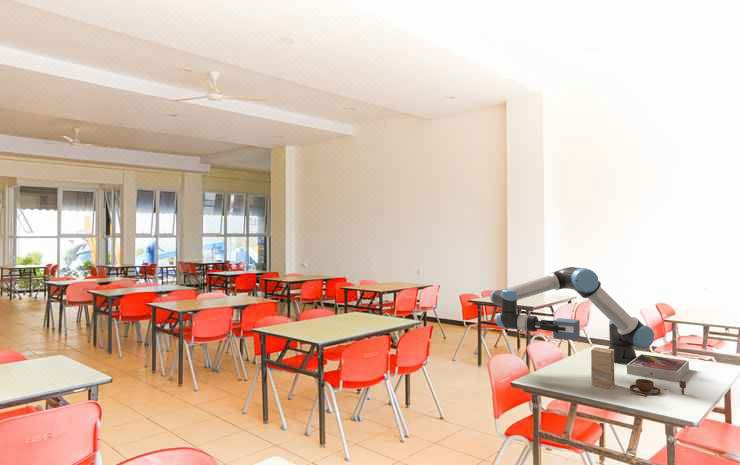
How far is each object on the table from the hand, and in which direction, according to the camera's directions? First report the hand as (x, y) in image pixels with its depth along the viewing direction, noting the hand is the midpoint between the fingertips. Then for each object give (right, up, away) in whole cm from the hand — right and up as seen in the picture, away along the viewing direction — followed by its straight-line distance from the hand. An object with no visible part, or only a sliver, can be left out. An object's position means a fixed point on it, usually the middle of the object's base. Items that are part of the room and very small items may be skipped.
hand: (576, 328), depth 231 cm
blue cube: (-4, -5, +3) cm, 7 cm away
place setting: (+28, -26, -15) cm, 41 cm away
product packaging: (+48, -26, +18) cm, 58 cm away
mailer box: (+11, -25, -3) cm, 28 cm away
